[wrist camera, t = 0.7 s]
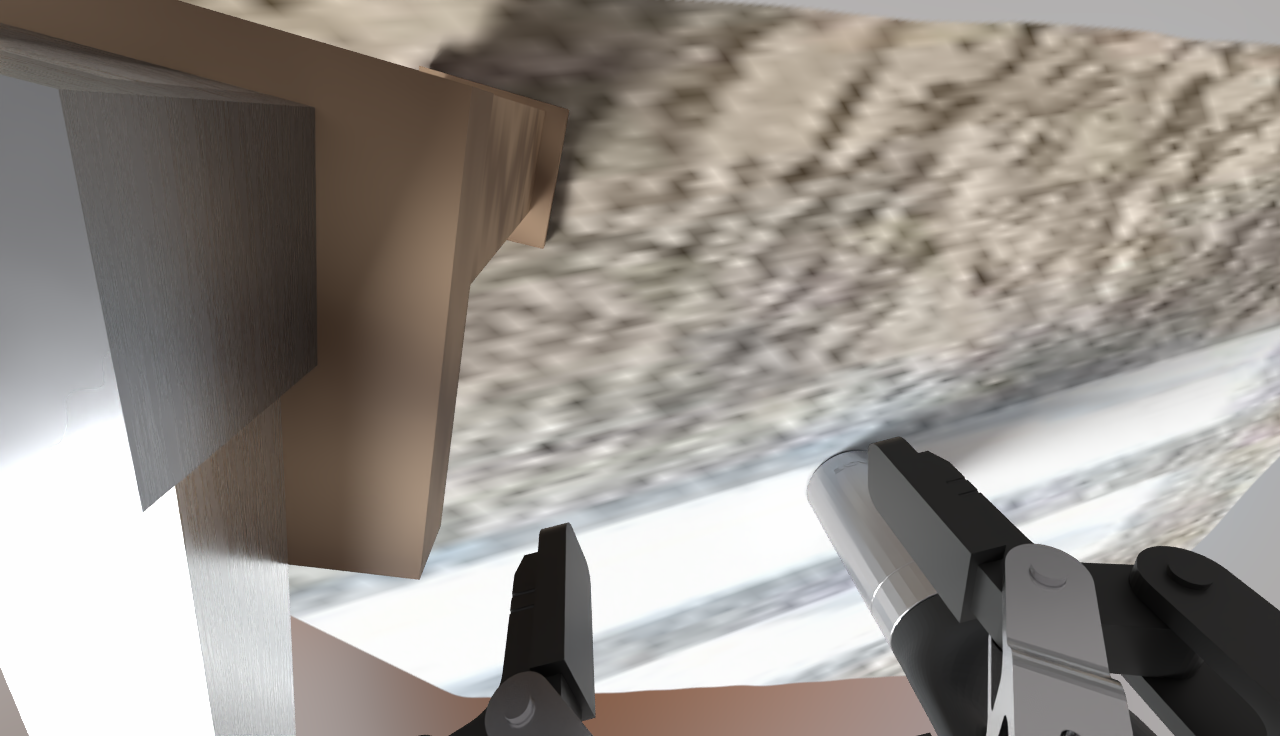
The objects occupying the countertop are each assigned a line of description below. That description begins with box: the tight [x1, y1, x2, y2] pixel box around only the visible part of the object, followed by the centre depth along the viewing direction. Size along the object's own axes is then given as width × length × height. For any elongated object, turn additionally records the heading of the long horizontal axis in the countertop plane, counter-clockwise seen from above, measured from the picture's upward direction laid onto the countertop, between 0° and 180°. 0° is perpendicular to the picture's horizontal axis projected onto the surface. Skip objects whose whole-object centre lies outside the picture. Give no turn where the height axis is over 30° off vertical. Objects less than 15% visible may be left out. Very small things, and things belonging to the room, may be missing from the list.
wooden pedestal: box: [0, 0, 569, 580], centre depth 24 cm, size 12×10×31 cm
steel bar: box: [0, 23, 317, 736], centre depth 10 cm, size 20×5×4 cm, turn 165°
